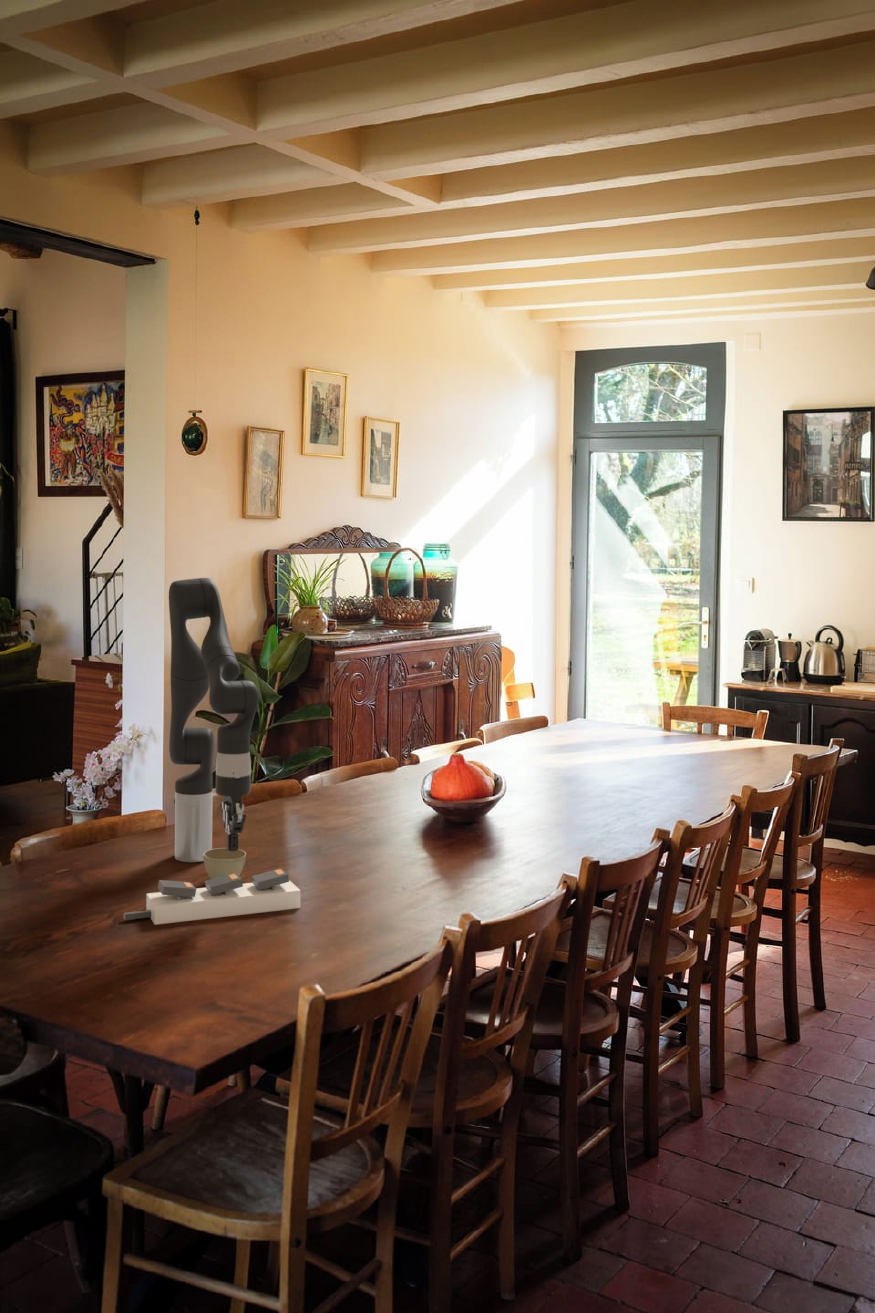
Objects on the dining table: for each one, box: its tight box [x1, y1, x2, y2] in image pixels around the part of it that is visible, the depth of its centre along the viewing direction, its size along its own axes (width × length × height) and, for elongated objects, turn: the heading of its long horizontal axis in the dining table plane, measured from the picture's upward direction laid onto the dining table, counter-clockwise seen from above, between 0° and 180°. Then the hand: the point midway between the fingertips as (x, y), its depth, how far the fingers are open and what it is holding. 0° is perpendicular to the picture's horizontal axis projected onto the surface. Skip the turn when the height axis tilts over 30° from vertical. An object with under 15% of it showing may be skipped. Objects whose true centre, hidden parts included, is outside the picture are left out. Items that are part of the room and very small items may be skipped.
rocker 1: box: [157, 879, 197, 897], centre depth 252 cm, size 5×7×2 cm
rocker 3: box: [251, 867, 290, 890], centre depth 260 cm, size 5×7×2 cm
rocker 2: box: [204, 873, 244, 895], centre depth 256 cm, size 5×7×2 cm
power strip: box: [123, 879, 302, 926], centre depth 255 cm, size 9×38×5 cm, turn 115°
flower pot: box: [203, 847, 247, 880], centre depth 275 cm, size 10×10×7 cm
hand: (232, 850), depth 256 cm, fingers closed
